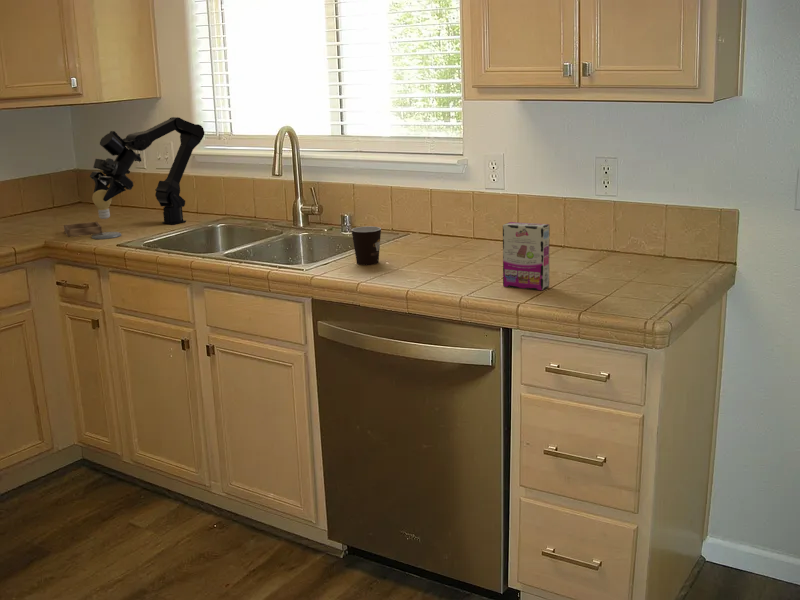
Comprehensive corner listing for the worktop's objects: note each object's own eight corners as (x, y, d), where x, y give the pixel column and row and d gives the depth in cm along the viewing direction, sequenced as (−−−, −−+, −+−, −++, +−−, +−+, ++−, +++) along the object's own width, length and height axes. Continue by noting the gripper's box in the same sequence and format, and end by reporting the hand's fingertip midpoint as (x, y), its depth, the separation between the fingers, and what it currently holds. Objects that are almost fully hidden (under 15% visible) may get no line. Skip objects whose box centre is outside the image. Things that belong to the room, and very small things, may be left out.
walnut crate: (97, 228, 334) (96, 221, 334) (102, 233, 324) (101, 226, 324) (64, 231, 330) (63, 225, 329) (68, 237, 320) (67, 230, 319)
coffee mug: (364, 267, 260) (363, 233, 257) (347, 262, 266) (345, 229, 264) (396, 260, 267) (395, 227, 264) (378, 256, 274) (376, 223, 271)
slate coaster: (109, 232, 325) (109, 230, 325) (127, 235, 320) (127, 233, 320) (85, 237, 318) (85, 235, 317) (103, 240, 312) (103, 238, 312)
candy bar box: (550, 286, 233) (550, 223, 229) (542, 291, 229) (543, 227, 224) (510, 282, 238) (509, 220, 234) (502, 286, 234) (501, 224, 230)
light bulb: (104, 216, 321) (100, 188, 318) (118, 216, 318) (114, 188, 316) (91, 219, 316) (87, 191, 313) (105, 220, 313) (101, 191, 310)
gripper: (90, 148, 319) (67, 184, 314) (121, 150, 308) (97, 187, 303) (113, 167, 327) (90, 203, 322) (143, 170, 316) (120, 207, 311)
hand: (98, 199), depth 314 cm, fingers closed on light bulb, 6 cm apart
